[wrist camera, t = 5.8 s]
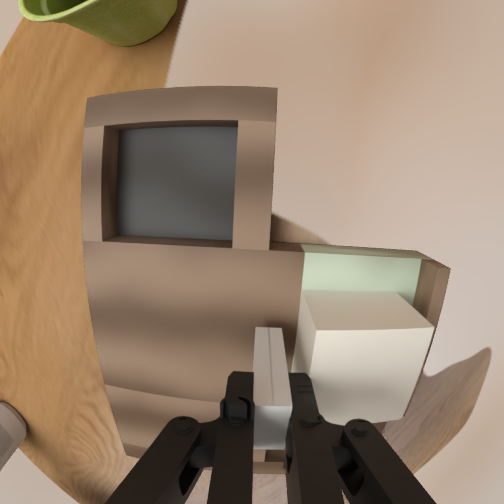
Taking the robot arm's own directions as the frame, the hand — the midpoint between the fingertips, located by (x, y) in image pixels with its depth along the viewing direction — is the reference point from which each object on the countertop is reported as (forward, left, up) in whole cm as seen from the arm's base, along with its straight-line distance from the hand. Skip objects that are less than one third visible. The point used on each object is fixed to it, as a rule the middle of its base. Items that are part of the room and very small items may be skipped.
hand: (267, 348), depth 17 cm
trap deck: (0, +1, -4) cm, 4 cm away
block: (0, -5, -1) cm, 5 cm away
